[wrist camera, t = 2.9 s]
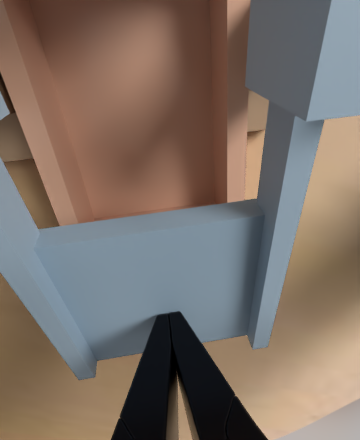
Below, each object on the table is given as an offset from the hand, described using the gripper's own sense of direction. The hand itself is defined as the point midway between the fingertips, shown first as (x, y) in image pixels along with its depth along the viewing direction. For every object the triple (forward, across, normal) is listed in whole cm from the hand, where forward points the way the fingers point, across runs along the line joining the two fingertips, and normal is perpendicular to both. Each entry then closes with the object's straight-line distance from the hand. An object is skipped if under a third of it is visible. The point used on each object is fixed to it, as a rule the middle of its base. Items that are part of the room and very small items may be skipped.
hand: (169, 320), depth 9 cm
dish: (+6, 0, -6) cm, 8 cm away
